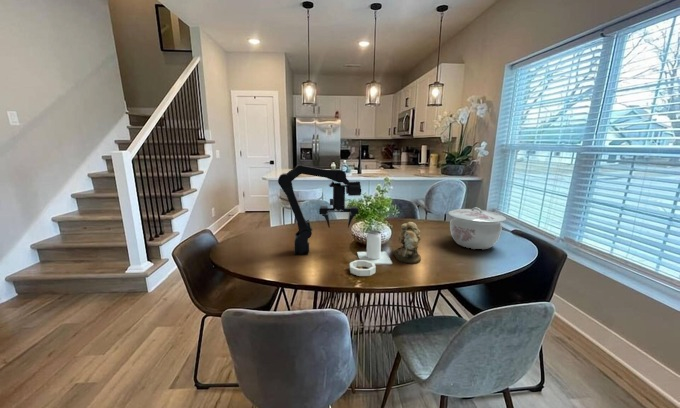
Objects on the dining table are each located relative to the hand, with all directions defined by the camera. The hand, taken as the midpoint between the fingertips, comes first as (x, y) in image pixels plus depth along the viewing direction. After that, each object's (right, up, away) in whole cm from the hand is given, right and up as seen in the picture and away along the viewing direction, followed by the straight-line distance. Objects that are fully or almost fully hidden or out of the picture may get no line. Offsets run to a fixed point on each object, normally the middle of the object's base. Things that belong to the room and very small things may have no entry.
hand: (338, 227), depth 140 cm
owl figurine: (+32, -14, -4) cm, 35 cm away
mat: (+16, -14, -7) cm, 22 cm away
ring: (+10, -16, -20) cm, 27 cm away
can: (+16, -13, -7) cm, 22 cm away
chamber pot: (+71, -11, +13) cm, 73 cm away
